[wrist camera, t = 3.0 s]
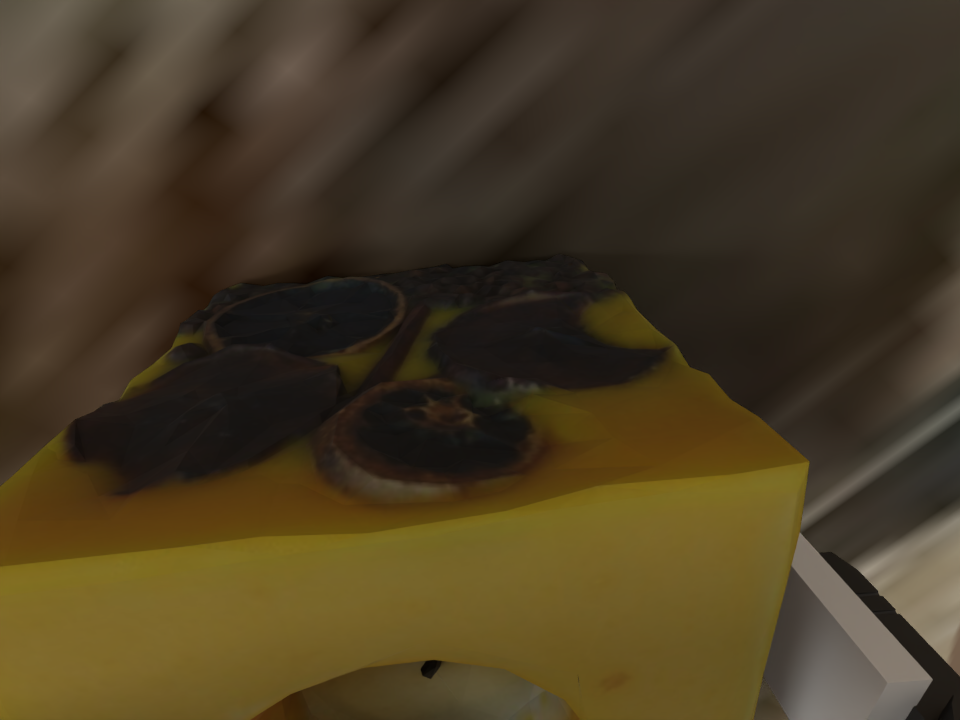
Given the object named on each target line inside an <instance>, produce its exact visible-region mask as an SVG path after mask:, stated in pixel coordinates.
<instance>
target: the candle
mask: <svg viewBox="0 0 960 720" xmlns="http://www.w3.org/2000/svg"><path fill="white" fill-rule="evenodd" d="M809 463H810V462H809V461H808V460H807V459H806V458H805V457H804V456H803V455H801V454H800V453H799V452H798V451H797V450H796V449H795V448H794V447H792V446H791V445H790V444H789V443H788V442H787V441H786V440H784V439H783V438H782V437H781V436H780V435H779V434H778V433H776V432H775V431H774V430H773V429H772V428H771V427H770V426H768V425H767V424H766V423H765V422H764V421H763V420H762V419H761V418H759V417H758V416H757V415H755V414H753V413H752V412H750V411H748V410H747V409H745V408H744V407H742V406H740V405H739V404H737V403H735V402H734V401H732V400H731V399H730V398H729V397H728V396H727V395H726V394H725V393H724V391H723V390H722V389H721V388H720V387H719V386H718V384H717V383H716V382H715V381H714V380H713V379H712V377H711V376H710V375H709V374H707V373H704V372H701V371H698V370H696V369H693V368H690V367H689V365H688V364H687V362H686V361H685V359H684V357H683V356H682V354H681V352H680V351H679V349H678V348H677V346H676V344H674V343H673V342H672V341H671V340H669V339H668V338H667V337H665V336H664V335H663V334H661V333H660V332H659V331H658V330H656V329H655V328H654V327H653V326H652V325H651V324H650V323H649V322H648V321H647V320H646V319H645V318H644V317H643V316H642V315H641V314H640V313H639V312H638V311H637V309H636V308H635V306H634V304H633V303H632V301H631V299H630V298H629V296H628V295H627V294H626V293H625V292H624V291H621V290H617V288H616V285H615V283H614V281H613V280H612V279H611V278H610V277H609V276H608V275H607V274H606V273H600V272H592V271H589V270H588V268H587V267H586V265H585V264H584V262H583V261H581V260H578V259H574V258H571V257H568V256H565V255H561V254H558V255H556V256H554V257H552V258H550V259H548V260H546V261H537V260H535V261H529V262H518V261H504V262H501V263H498V264H495V265H492V266H489V267H487V266H465V267H459V268H454V269H453V268H452V267H450V266H449V265H447V264H445V265H441V266H438V267H432V268H425V269H418V270H410V271H404V272H400V273H396V274H381V275H373V276H365V277H352V276H350V277H346V278H338V277H332V276H326V277H324V278H321V279H318V280H316V281H313V282H310V283H307V284H298V283H276V284H272V285H267V286H259V285H251V284H244V283H240V284H237V285H235V286H232V287H230V288H227V289H224V290H222V291H220V292H219V293H217V294H216V295H214V296H213V298H212V300H211V301H210V303H209V305H208V306H207V307H206V308H205V309H204V310H198V311H197V312H196V313H194V314H193V315H192V316H191V317H189V318H188V319H187V320H186V321H184V322H182V323H181V324H180V328H179V332H178V335H177V337H176V339H175V341H174V344H173V346H172V348H171V349H170V350H169V351H168V352H167V353H165V354H164V355H163V356H162V357H161V358H160V359H159V360H157V361H156V362H155V363H154V364H153V365H151V366H150V367H149V368H147V369H146V370H144V371H143V372H142V373H140V374H139V375H137V376H136V377H135V378H133V379H132V380H131V381H130V383H129V384H128V386H127V388H126V389H125V391H124V393H123V394H122V396H121V398H120V400H119V401H115V402H111V403H108V404H104V405H102V406H101V407H100V408H98V409H97V410H96V411H94V412H92V413H90V414H87V415H85V416H82V417H80V418H77V419H75V420H74V421H73V422H72V423H71V424H70V425H68V426H67V427H66V428H65V429H64V430H63V431H62V432H60V433H59V434H58V435H57V436H56V437H55V438H54V439H52V440H51V441H50V442H49V443H48V444H47V445H46V446H44V447H43V448H42V449H41V450H40V451H39V452H38V453H37V454H36V455H35V456H34V457H32V458H31V459H30V460H29V461H28V462H27V463H26V464H25V465H24V466H23V467H22V468H21V469H19V470H18V471H17V472H16V473H15V474H14V475H13V476H12V477H11V478H10V479H8V480H7V481H6V482H5V483H4V484H3V485H1V486H0V720H753V719H754V714H755V710H756V705H757V701H758V696H759V692H760V687H761V683H762V679H763V674H764V670H765V666H766V662H767V658H768V654H769V650H770V647H771V643H772V639H773V635H774V631H775V627H776V624H777V620H778V616H779V612H780V608H781V604H782V600H783V597H784V593H785V589H786V585H787V581H788V577H789V573H790V569H791V565H792V561H793V557H794V553H795V549H796V545H797V541H798V537H799V533H800V527H801V520H802V513H803V506H804V498H805V491H806V484H807V477H808V470H809Z"/></svg>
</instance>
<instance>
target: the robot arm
mask: <svg viewBox="0 0 960 720" xmlns="http://www.w3.org/2000/svg"><path fill="white" fill-rule="evenodd" d="M895 610H896V609H895V608H894V607H893V606H892V605H891V604H890V603H889V602H888V601H887V600H886V599H885V598H884V597H883V596H879V594H878V591H877V590H876V589H875V588H874V586H873V585H872V584H871V583H870V582H869V581H868V580H867V579H866V578H865V577H864V576H863V575H862V574H861V573H860V572H859V571H858V570H857V569H855V568H854V567H853V566H851V565H850V564H848V563H847V562H845V561H844V560H842V559H841V558H839V557H838V556H836V555H835V554H834V553H832V552H824V553H818V552H817V551H816V550H815V549H814V547H813V546H812V545H811V544H810V543H809V542H808V541H807V540H806V539H805V538H804V536H803V535H802V534H801V533H799V537H798V541H797V545H796V549H795V553H794V557H793V561H792V565H791V569H790V573H789V577H788V581H787V585H786V589H785V593H784V597H783V600H782V604H781V608H780V612H779V616H778V620H777V624H776V627H775V631H774V635H773V639H772V643H771V647H770V650H769V654H768V658H767V662H766V666H765V670H764V674H763V677H764V679H765V681H766V682H767V684H768V686H769V687H770V689H771V691H772V692H773V694H774V695H775V697H776V699H777V700H778V702H779V704H780V705H781V707H782V709H783V710H784V712H785V714H786V715H787V717H788V718H789V720H960V676H959V675H958V674H957V673H956V672H955V671H954V670H953V669H952V668H951V667H950V666H949V665H948V664H947V663H946V662H945V661H944V660H943V659H942V658H941V657H940V655H939V654H938V653H937V652H936V651H935V650H934V649H933V648H932V647H931V646H930V645H929V644H928V643H927V642H926V641H925V640H924V639H923V638H922V637H921V636H920V635H919V634H918V632H917V631H916V630H915V629H914V628H913V627H912V626H911V625H910V624H909V623H908V622H907V621H906V620H905V619H904V618H903V617H902V616H901V615H900V614H897V613H896V611H895Z"/></svg>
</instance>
